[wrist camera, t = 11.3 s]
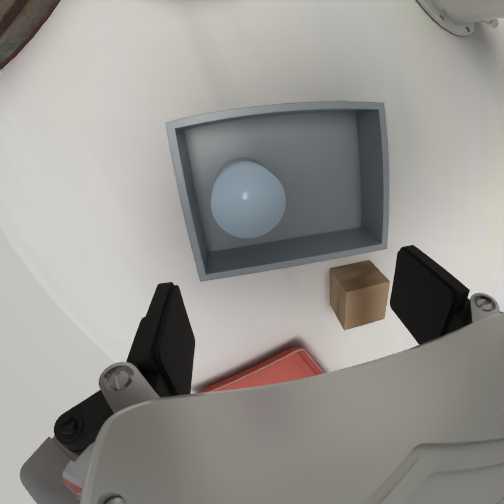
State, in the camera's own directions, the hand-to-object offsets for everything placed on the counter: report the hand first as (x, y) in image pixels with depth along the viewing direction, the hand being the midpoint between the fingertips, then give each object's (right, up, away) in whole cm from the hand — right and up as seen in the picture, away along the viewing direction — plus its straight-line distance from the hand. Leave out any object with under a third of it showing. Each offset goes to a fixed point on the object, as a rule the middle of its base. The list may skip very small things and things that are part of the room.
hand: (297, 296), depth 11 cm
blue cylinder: (-3, +8, +14) cm, 16 cm away
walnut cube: (+10, -2, +20) cm, 22 cm away
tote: (+1, +9, +14) cm, 17 cm away
